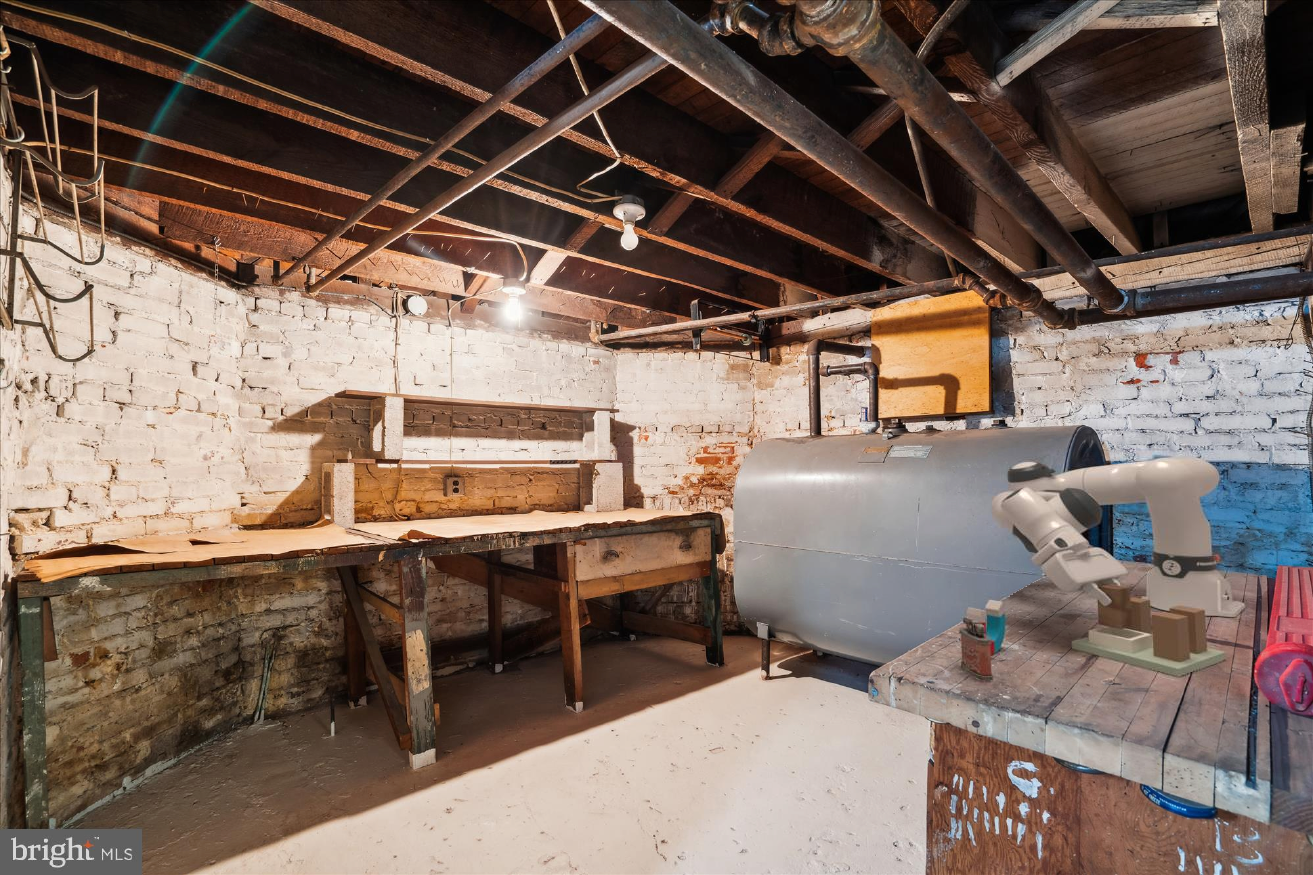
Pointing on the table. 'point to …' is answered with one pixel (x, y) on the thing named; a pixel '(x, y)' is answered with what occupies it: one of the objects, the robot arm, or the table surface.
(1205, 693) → the table surface
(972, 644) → the lighter
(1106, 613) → the leg
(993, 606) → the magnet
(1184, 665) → the board
